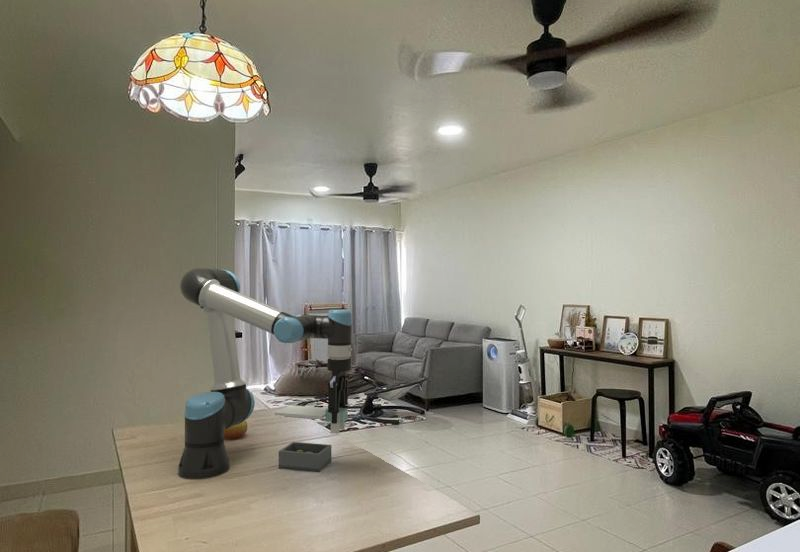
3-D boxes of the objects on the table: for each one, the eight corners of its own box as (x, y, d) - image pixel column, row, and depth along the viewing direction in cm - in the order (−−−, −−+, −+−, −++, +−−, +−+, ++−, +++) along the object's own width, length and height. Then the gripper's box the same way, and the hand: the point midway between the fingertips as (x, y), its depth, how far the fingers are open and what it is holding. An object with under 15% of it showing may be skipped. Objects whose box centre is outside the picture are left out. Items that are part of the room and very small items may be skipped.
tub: (278, 468, 158) (278, 451, 158) (292, 458, 168) (292, 441, 168) (319, 472, 155) (319, 454, 155) (331, 461, 164) (331, 444, 165)
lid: (274, 419, 159) (274, 408, 159) (289, 411, 169) (289, 401, 169) (339, 425, 153) (339, 413, 153) (350, 417, 164) (351, 406, 164)
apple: (237, 432, 198) (237, 412, 198) (252, 436, 193) (252, 416, 193) (215, 438, 190) (215, 417, 191) (230, 443, 185) (230, 421, 185)
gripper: (340, 362, 150) (339, 439, 150) (358, 355, 167) (357, 425, 166) (317, 360, 152) (316, 437, 152) (337, 354, 169) (336, 423, 168)
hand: (337, 430), depth 159 cm, fingers closed on lid, 4 cm apart
